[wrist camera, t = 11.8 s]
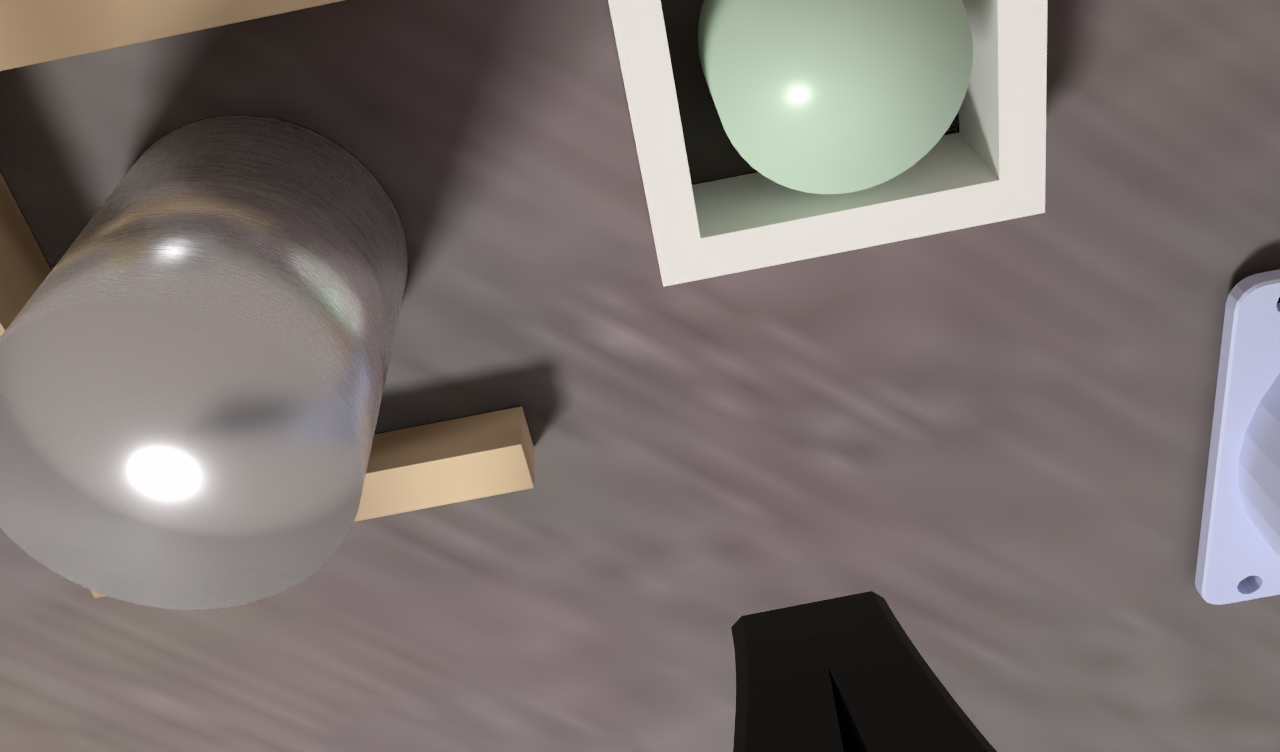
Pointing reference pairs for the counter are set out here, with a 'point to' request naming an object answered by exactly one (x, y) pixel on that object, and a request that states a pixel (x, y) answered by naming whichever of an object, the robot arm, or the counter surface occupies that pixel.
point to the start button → (835, 84)
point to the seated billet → (205, 370)
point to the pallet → (15, 268)
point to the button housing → (832, 223)
